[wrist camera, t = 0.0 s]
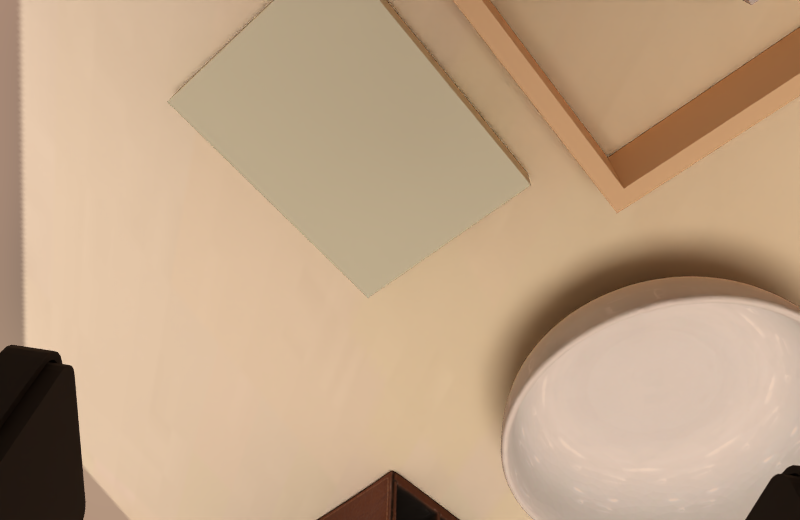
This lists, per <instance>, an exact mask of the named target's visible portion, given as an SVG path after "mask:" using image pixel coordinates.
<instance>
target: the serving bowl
mask: <svg viewBox="0 0 800 520" xmlns="http://www.w3.org/2000/svg"><path fill="white" fill-rule="evenodd" d="M501 458H502V465H503V471H504V474H505V478H506V481H507V483H508V486H509V488H510V490H511V492H512V493H513V495H514V497H515V499H516V500H517V502H518V503H519V504H520V506H521V507H522V508H523V509H524V511H525V512H526V513H527V514H528V515H529V516H530V517H531V518H532V519H533V520H745V519H746V518H747V516H748V514H749V513H750V511H751V510H752V508H753V506H754V505H755V503H756V502H757V500H758V499H759V497H760V495H761V494H762V492H763V491H764V489H765V487H766V486H767V484H768V483H769V481H770V480H771V478H772V477H773V476H774V475H776V474H782V473H783V472H784V470H785V469H786V468H787V467H789V466H792V465H799V466H800V307H798V306H796V305H795V304H793V303H791V302H790V301H788V300H786V299H784V298H782V297H780V296H778V295H776V294H773V293H771V292H769V291H766V290H764V289H761V288H758V287H755V286H752V285H749V284H746V283H741V282H737V281H733V280H727V279H721V278H712V277H699V276H684V277H669V278H661V279H655V280H650V281H645V282H640V283H636V284H633V285H629V286H626V287H623V288H620V289H618V290H615V291H612V292H610V293H607V294H605V295H603V296H601V297H599V298H596V299H594V300H592V301H591V302H589V303H587V304H585V305H583V306H582V307H580V308H578V309H577V310H575V311H574V312H572V313H571V314H569V315H568V316H567V317H565V318H564V319H563V320H562V321H560V322H559V323H558V324H557V325H556V326H554V327H553V328H552V329H551V330H550V331H549V332H548V333H547V334H546V335H545V336H544V337H543V338H542V339H541V340H540V341H539V343H538V344H537V345H536V346H535V347H534V349H533V350H532V351H531V353H530V354H529V355H528V357H527V358H526V360H525V361H524V363H523V365H522V366H521V368H520V370H519V372H518V374H517V376H516V378H515V380H514V382H513V385H512V387H511V390H510V393H509V396H508V399H507V403H506V407H505V412H504V418H503V425H502V436H501Z"/></svg>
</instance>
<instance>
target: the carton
mask: <svg viewBox="0 0 800 520" xmlns="http://www.w3.org/2000/svg"><path fill="white" fill-rule="evenodd" d="M453 1H454V2H455V4H456V5H457V6H458V8H459V9H460V10H461V11H462V13H463V14H464V15H465V17H466V18H467V19H468V21H469V22H470V23H471V24H472V26H473V27H474V28H475V30H476V31H477V32H478V34H479V35H480V36H481V37H482V39H483V40H484V41H485V43H486V44H487V45H488V46H489V48H490V49H491V50H492V52H493V53H494V54H495V56H496V57H497V58H498V59H499V61H500V62H501V63H502V65H503V66H504V67H505V68H506V70H507V71H508V72H509V74H510V75H511V76H512V78H513V79H514V80H515V81H516V83H517V84H518V85H519V87H520V88H521V89H522V91H523V92H524V93H525V94H526V96H527V97H528V98H529V100H530V101H531V102H532V103H533V105H534V106H535V107H536V109H537V110H538V111H539V113H540V114H541V115H542V116H543V118H544V119H545V120H546V122H547V123H548V124H549V125H550V127H551V128H552V129H553V131H554V132H555V133H556V135H557V136H558V137H559V138H560V140H561V141H562V142H563V144H564V145H565V146H566V147H567V149H568V150H569V151H570V153H571V154H572V155H573V157H574V158H575V159H576V160H577V162H578V163H579V164H580V166H581V167H582V168H583V170H584V171H585V172H586V173H587V175H588V176H589V177H590V179H591V180H592V181H593V182H594V184H595V185H596V186H597V188H598V189H599V190H600V192H601V193H602V194H603V195H604V197H605V198H606V199H607V201H608V202H609V203H610V204H611V206H612V207H613V208H614V210H615V211H616V212H617V213H618V212H620V211H621V210H623V209H624V208H626V207H628V206H629V205H631V204H632V203H634V202H635V201H637V200H638V199H640V198H642V197H643V196H645V195H646V194H648V193H649V192H651V191H652V190H654V189H655V188H657V187H659V186H660V185H662V184H663V183H665V182H666V181H668V180H669V179H671V178H673V177H674V176H676V175H677V174H679V173H680V172H682V171H683V170H685V169H687V168H688V167H690V166H691V165H693V164H694V163H696V162H697V161H699V160H701V159H702V158H704V157H705V156H707V155H708V154H710V153H711V152H713V151H715V150H716V149H718V148H719V147H721V146H722V145H724V144H725V143H727V142H728V141H730V140H732V139H733V138H735V137H736V136H738V135H739V134H741V133H742V132H744V131H746V130H747V129H749V128H750V127H752V126H753V125H755V124H756V123H758V122H760V121H761V120H763V119H764V118H766V117H767V116H769V115H770V114H772V113H774V112H775V111H777V110H778V109H780V108H781V107H783V106H784V105H786V104H787V103H789V102H791V101H792V100H794V99H795V98H797V97H798V96H800V27H799V28H798V29H796V30H795V31H793V32H792V33H791V34H789V35H788V36H786V37H785V38H783V39H782V40H780V41H779V42H777V43H776V44H774V45H773V46H771V47H770V48H768V49H767V50H765V51H764V52H763V53H761V54H760V55H758V56H757V57H755V58H754V59H752V60H751V61H749V62H748V63H746V64H745V65H743V66H742V67H740V68H739V69H738V70H736V71H735V72H733V73H732V74H730V75H729V76H727V77H726V78H724V79H723V80H721V81H720V82H718V83H717V84H715V85H714V86H712V87H711V88H710V89H708V90H707V91H705V92H704V93H702V94H701V95H699V96H698V97H696V98H695V99H693V100H692V101H690V102H689V103H687V104H686V105H684V106H683V107H682V108H680V109H679V110H677V111H676V112H674V113H673V114H671V115H670V116H668V117H667V118H665V119H664V120H662V121H661V122H659V123H658V124H657V125H655V126H654V127H652V128H651V129H649V130H648V131H646V132H645V133H643V134H642V135H640V136H639V137H637V138H636V139H634V140H633V141H631V142H630V143H629V144H627V145H626V146H624V147H623V148H621V149H620V150H618V151H617V152H615V153H614V154H612V155H611V156H609V157H608V158H607V156H606V155H605V154H604V152H603V151H602V150H601V148H600V147H599V146H598V144H597V143H596V142H595V140H594V139H593V138H592V136H591V135H590V134H589V132H588V131H587V130H586V128H585V127H584V126H583V124H582V123H581V122H580V120H579V119H578V117H577V116H576V115H575V113H574V112H573V111H572V109H571V108H570V107H569V105H568V104H567V103H566V101H565V100H564V99H563V97H562V96H561V95H560V93H559V92H558V91H557V89H556V88H555V87H554V85H553V84H552V83H551V81H550V80H549V79H548V77H547V76H546V75H545V73H544V72H543V71H542V69H541V68H540V67H539V65H538V64H537V63H536V61H535V60H534V59H533V57H532V56H531V55H530V53H529V52H528V51H527V49H526V48H525V47H524V45H523V44H522V43H521V41H520V40H519V39H518V37H517V36H516V35H515V33H514V32H513V31H512V29H511V28H510V27H509V25H508V24H507V23H506V21H505V20H504V19H503V17H502V16H501V15H500V13H499V12H498V11H497V9H496V8H495V7H494V5H493V4H492V3H491V1H490V0H453Z"/></svg>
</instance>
